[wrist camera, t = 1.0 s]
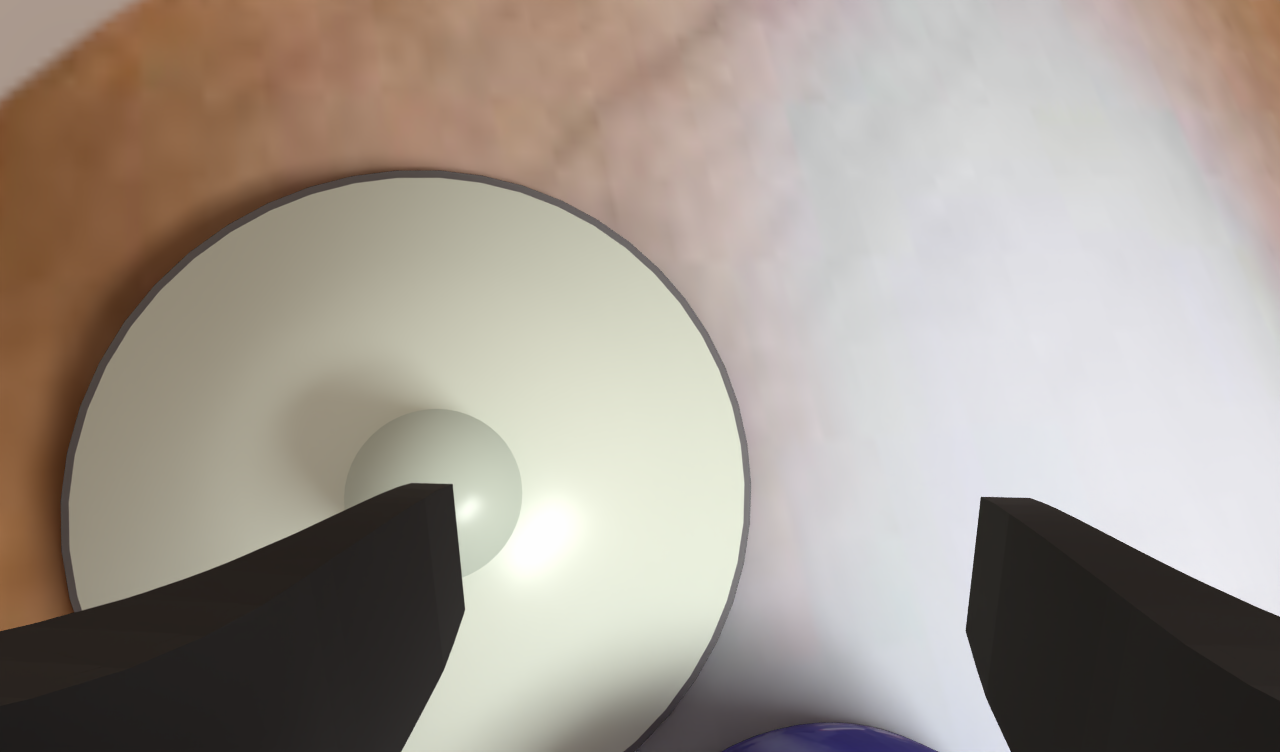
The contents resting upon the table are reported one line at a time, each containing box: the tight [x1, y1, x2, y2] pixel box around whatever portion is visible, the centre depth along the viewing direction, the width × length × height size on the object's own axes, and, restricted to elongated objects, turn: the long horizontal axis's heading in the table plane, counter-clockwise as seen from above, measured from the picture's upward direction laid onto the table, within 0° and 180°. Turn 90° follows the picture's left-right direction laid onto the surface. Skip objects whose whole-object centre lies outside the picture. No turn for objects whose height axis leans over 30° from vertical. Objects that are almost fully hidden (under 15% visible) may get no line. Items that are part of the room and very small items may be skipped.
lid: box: [69, 178, 744, 752], centre depth 20 cm, size 17×17×3 cm
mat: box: [61, 171, 751, 752], centre depth 22 cm, size 18×18×1 cm
